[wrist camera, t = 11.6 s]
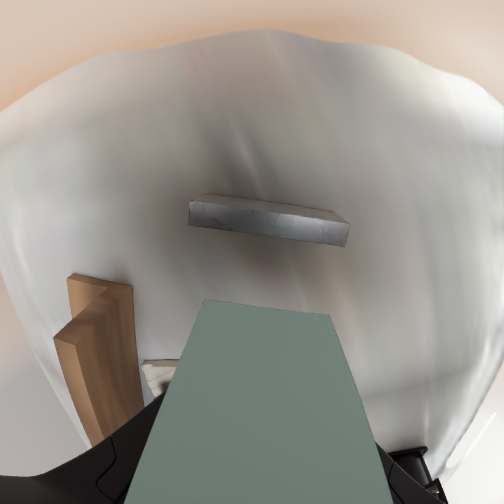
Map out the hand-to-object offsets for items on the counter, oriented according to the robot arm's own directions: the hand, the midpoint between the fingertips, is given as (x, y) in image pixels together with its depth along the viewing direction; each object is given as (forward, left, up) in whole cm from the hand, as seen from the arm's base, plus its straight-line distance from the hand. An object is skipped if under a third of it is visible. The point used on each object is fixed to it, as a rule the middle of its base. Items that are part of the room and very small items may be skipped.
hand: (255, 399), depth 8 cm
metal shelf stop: (0, -4, -11) cm, 12 cm away
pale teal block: (0, 0, -2) cm, 2 cm away
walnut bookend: (+12, +13, -11) cm, 21 cm away
